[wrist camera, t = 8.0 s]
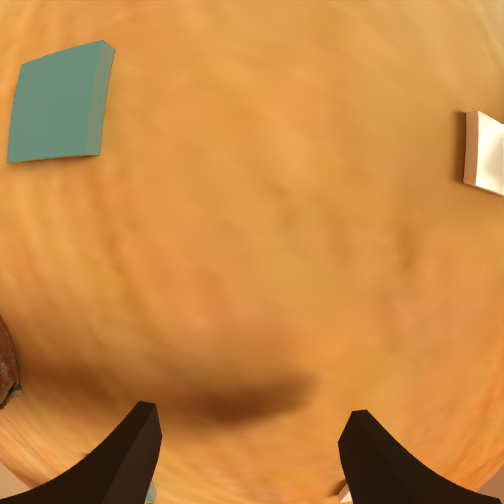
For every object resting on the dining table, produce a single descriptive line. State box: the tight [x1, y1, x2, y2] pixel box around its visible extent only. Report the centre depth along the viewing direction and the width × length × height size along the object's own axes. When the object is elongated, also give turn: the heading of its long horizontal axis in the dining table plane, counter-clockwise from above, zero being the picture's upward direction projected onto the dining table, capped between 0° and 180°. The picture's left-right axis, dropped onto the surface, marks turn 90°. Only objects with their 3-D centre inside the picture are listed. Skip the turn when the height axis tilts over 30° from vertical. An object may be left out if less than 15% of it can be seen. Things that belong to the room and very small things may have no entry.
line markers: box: [7, 40, 504, 503], centre depth 11 cm, size 26×20×1 cm
